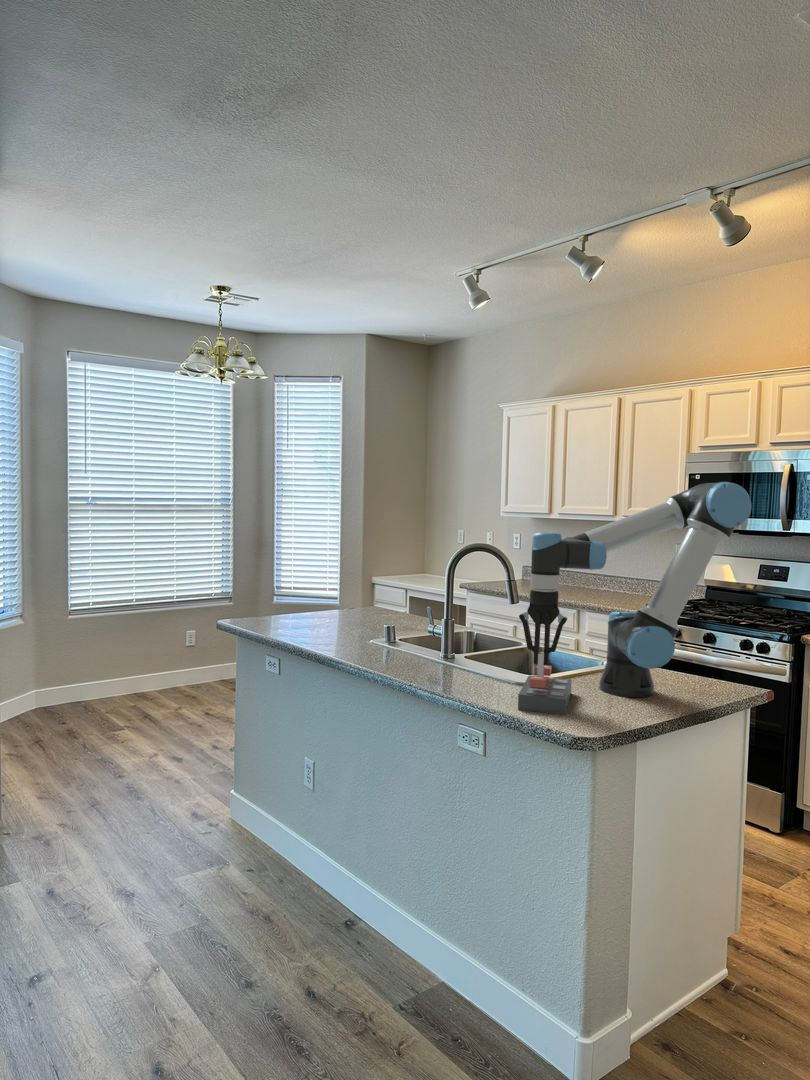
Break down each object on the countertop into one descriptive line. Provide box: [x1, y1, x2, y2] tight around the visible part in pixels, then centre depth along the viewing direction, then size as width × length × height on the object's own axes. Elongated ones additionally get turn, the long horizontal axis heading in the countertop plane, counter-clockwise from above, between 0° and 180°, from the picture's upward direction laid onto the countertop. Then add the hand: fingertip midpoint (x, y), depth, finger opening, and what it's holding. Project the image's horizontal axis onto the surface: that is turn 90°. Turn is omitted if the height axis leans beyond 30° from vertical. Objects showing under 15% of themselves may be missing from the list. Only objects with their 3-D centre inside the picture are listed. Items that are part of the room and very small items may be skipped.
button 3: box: [529, 675, 548, 688], centre depth 195 cm, size 4×4×2 cm
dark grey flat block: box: [517, 675, 573, 715], centre depth 203 cm, size 12×25×4 cm, turn 164°
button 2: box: [533, 674, 550, 687], centre depth 201 cm, size 4×4×2 cm
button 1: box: [534, 664, 553, 677], centre depth 208 cm, size 4×4×2 cm
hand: (540, 676), depth 201 cm, fingers closed
